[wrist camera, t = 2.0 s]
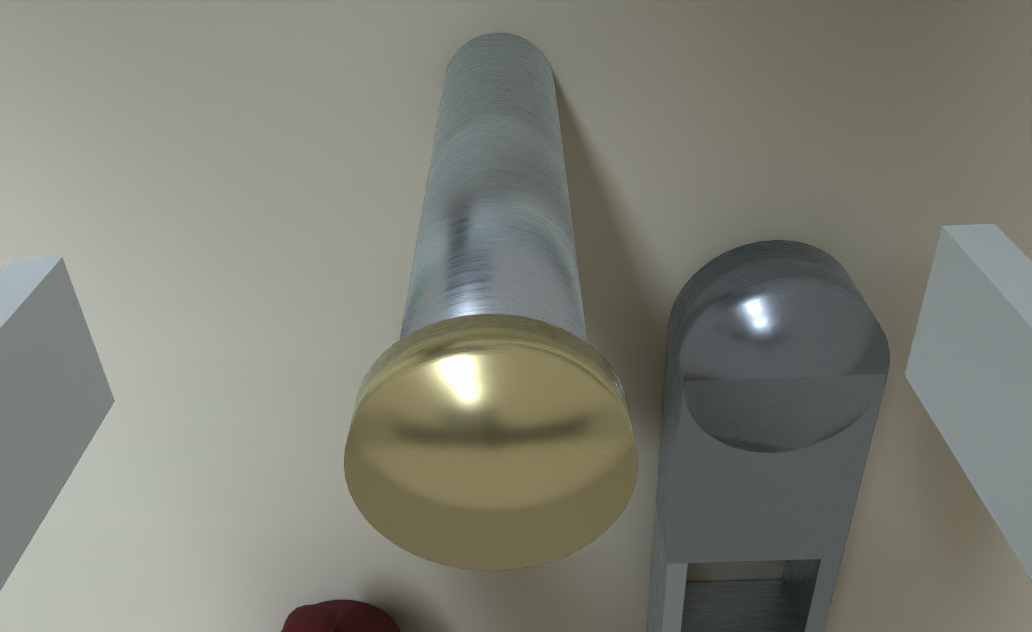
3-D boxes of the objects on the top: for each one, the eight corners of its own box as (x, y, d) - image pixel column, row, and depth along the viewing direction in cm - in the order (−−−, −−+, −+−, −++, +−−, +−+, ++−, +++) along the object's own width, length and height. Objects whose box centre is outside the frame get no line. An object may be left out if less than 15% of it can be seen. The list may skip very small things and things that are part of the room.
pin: (420, 17, 20) (321, 361, 9) (571, 11, 20) (644, 350, 9) (434, 158, 22) (365, 575, 11) (571, 152, 22) (632, 566, 11)
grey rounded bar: (674, 244, 23) (691, 295, 21) (873, 236, 23) (909, 287, 21) (639, 736, 36) (647, 798, 34) (766, 733, 36) (782, 795, 34)
